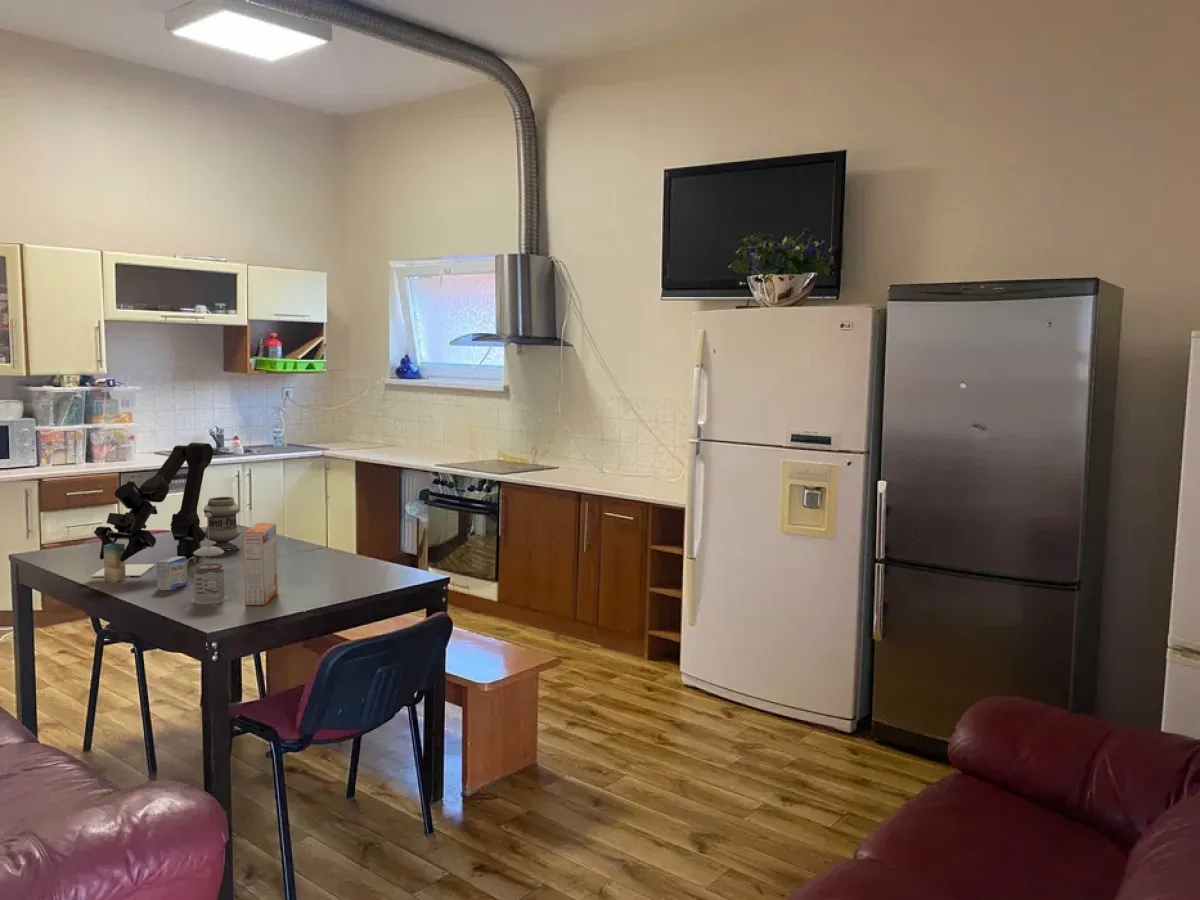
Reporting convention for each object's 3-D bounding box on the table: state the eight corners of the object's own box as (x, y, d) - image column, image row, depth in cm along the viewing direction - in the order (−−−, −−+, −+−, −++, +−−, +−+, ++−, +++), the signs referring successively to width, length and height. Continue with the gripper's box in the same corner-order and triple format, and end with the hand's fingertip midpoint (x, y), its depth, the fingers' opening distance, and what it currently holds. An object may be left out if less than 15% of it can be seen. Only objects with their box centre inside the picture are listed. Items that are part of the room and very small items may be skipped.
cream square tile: (154, 566, 305) (154, 564, 304) (140, 576, 290) (140, 575, 290) (108, 566, 302) (108, 564, 302) (91, 577, 287) (91, 575, 287)
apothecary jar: (196, 550, 329) (195, 499, 327) (217, 544, 341) (217, 494, 339) (227, 552, 326) (226, 501, 325) (247, 546, 338) (246, 496, 336)
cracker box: (257, 593, 274) (256, 522, 272) (278, 593, 274) (277, 522, 272) (243, 606, 260) (242, 531, 258) (265, 606, 261) (264, 531, 258)
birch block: (114, 578, 287) (113, 543, 286) (125, 579, 286) (124, 544, 285) (104, 581, 283) (103, 545, 282) (115, 582, 282) (114, 546, 281)
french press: (222, 604, 261) (220, 515, 259) (178, 604, 260) (176, 515, 258) (232, 595, 271) (231, 509, 269) (191, 595, 270) (189, 509, 268)
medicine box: (170, 591, 274) (169, 562, 273) (157, 590, 275) (156, 561, 274) (187, 585, 282) (186, 556, 281) (174, 583, 283) (173, 555, 282)
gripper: (97, 500, 289) (69, 542, 279) (148, 504, 284) (122, 547, 274) (117, 521, 297) (91, 563, 288) (167, 525, 292) (142, 568, 283)
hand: (111, 559), depth 283 cm, fingers open, 7 cm apart
